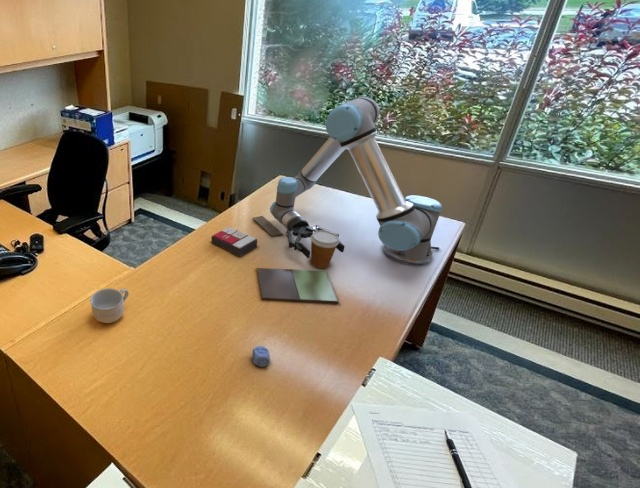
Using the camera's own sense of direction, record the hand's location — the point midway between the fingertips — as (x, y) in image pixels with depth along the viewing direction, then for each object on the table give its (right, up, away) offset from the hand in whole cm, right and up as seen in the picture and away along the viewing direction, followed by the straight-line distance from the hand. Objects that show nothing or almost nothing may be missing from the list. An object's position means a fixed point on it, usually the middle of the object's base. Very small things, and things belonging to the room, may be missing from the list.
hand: (326, 252), depth 151 cm
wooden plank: (-11, +9, +30) cm, 33 cm away
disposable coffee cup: (0, -5, +5) cm, 7 cm away
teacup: (-77, -20, -12) cm, 81 cm away
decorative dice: (-35, -29, -33) cm, 56 cm away
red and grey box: (-29, +1, +20) cm, 35 cm away
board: (-14, -12, -5) cm, 19 cm away
